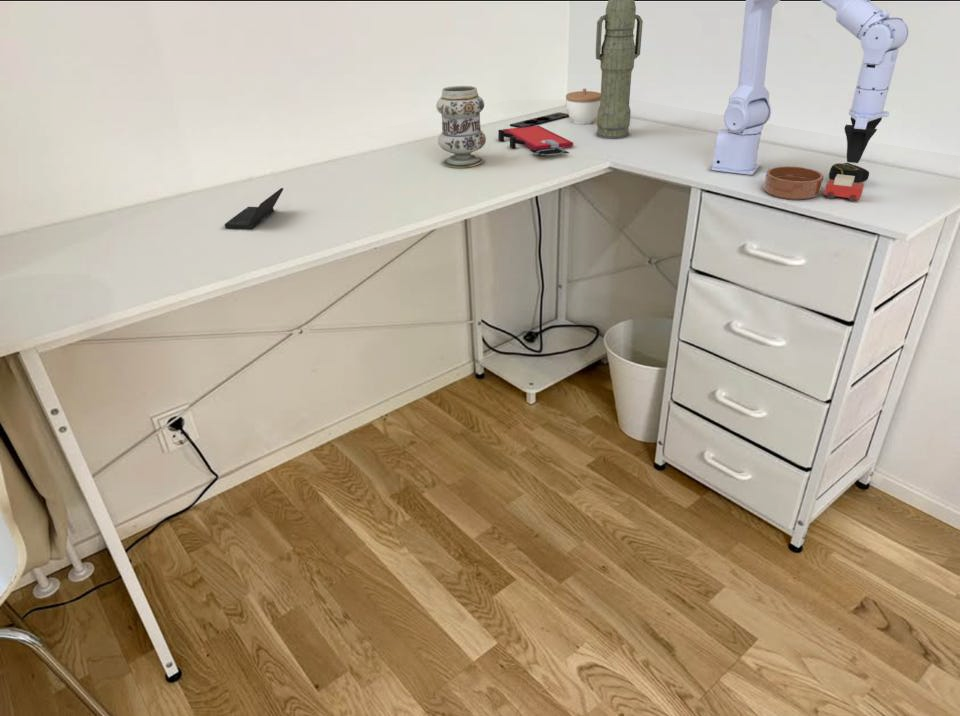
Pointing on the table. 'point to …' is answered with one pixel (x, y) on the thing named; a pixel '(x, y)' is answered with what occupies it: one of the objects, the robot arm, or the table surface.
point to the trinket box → (583, 106)
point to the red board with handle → (536, 140)
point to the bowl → (793, 182)
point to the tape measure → (849, 172)
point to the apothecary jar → (461, 125)
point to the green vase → (617, 66)
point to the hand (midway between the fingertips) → (855, 157)
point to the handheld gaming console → (254, 214)
